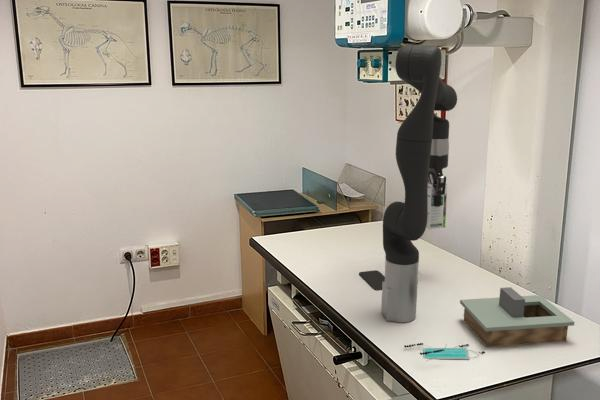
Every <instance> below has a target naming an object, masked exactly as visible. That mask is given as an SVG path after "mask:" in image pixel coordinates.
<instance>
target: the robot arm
mask: <svg viewBox="0 0 600 400" xmlns="http://www.w3.org/2000/svg"><path fill="white" fill-rule="evenodd" d="M394 65H395V66H394V67H395V73H396V76H398V78H399V79H400V80H401V81H403V82H405V83H407V84H408V85H410V86H411V87H413V88H414V89H415V90H417V91H418V92H419V94H420V96H419V98H418V101H417V103H416V104H415V106H414V107H413V108H412V109H411V111H410V112H409V114H408V115H407V116H406V118H404V120H403V122H402V123H401V124H400V126H399V127H398V129H397V134H396V144H395V159H396V165H397V167H398V170H399V174H400V175H401V179H402V182H403V186H404V202H402V201H394V202H392V203H390V204H389V205H388V206H387V207H386V208H385V211H384V214H383V218H382V247H383V250H384V254H385V266H384V276H385V281H383V282H382V290H381V307H380V308H381V309H380V311H381V313H382V315H383V317H384V318H385V319H384V320H386V322H387V321H388V322H395V323H408V322H409V323H410V322H412V321H414V320H415V319H416V316H417V302H418V301H417V298H418V284H419V283H418V281H419V280H418V279H419V267H420V266H419V262H420V251H419V249H418V248H417V247H416V246H415V245H414V244H413V242H414V241H418V240H419V239H421V238H422V237H423V235H424V233H425V232H426V229H427V227H426V225H427V217H428V198H427V192H428V182H431V184H432V187H433V188H434V206H435V207H440V206H441V195H444V194H445V186H446V184H447V176H446V175H445V176H444V173H443V169H446V168H448V166H449V153H450V152H449V151H450V142H449V141H450V139H449V137H450V135H449V134H450V122H449V120H448V119H446V118H443V117H439V116H438V115H436V113H435V111H439V112H442V111H443V112H449V111H452V110H453V109H455V108H456V106H457V103H458V95H457V92H456V90H455V88H453V86H451V85H449V84H447V83H445V82H444V81H443V79H442V78H441V76H440V75H441V68H442V50H441V48H440V47H439V46H438V45H432V44H431V45H426V44H406V45H402V46H401V47H400V48H399V49H398V50H397V53H396V57H395V63H394ZM435 184H437V185H435ZM439 188H440V191H439ZM412 241H413V242H412Z"/></svg>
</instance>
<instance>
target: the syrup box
mask: <svg viewBox="0 0 600 400" xmlns="http://www.w3.org/2000/svg"><path fill="white" fill-rule="evenodd" d="M435 185H437V184H435ZM439 191H440V188H439ZM447 195H448V184H447V183H446V186H445V194H444V195H441V206H440V207H435V206H434V188H433V187H432V184H431V182H428V192H427V198H428V217H427V225H426V229H429V230H432V229H442V228H443V229H445V228H446V219H447V217H446V216H447V213H446V212H447Z"/></svg>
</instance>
